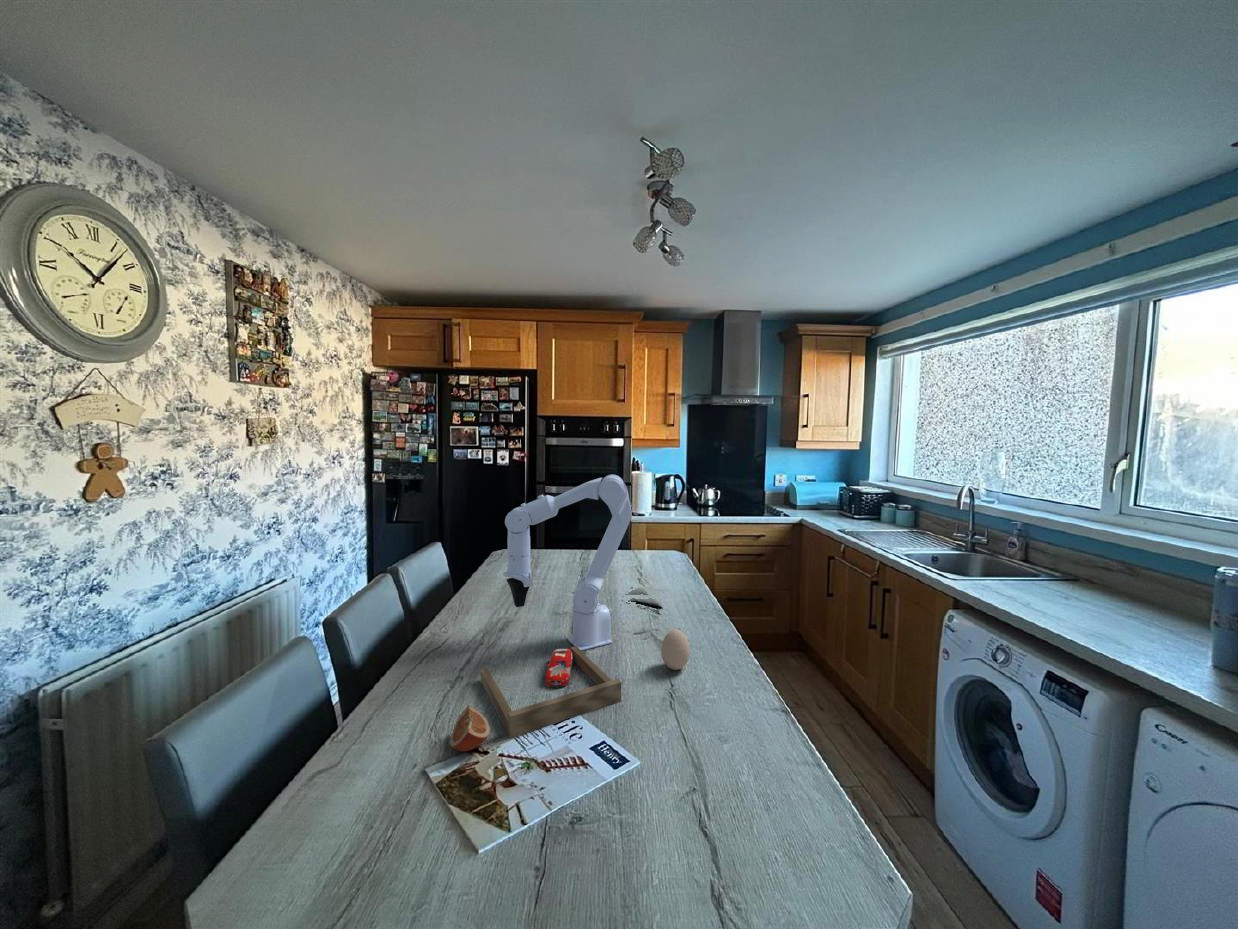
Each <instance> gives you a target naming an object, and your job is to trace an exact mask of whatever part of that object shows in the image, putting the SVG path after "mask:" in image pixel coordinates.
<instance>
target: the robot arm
mask: <svg viewBox="0 0 1238 929" xmlns="http://www.w3.org/2000/svg"><path fill="white" fill-rule="evenodd" d="M599 497H600V499H601V501H603V502H604V503H605V504H606V505H607V506H608V509H609V511H610V514H611V516H612V517H611V519H610V521H609V524H608V526H607V528H606V530H605V533H604V535H603V537H602V540H601V541H600V544H599V546H598V547H597V549H596V552H595V554H594V557H593V559H592V561H591V564H590V566H589V567H588V569H587V571H586V573H585V575H584V577H583V578H582V579H581V580H580V581H579V582H577V585H576V590H575V594H574V595H573V598H572V635H570V636H567V637H566V639H567V640H568V642H570V644H571V645H573V647H575V646H577V647H578V648H579V649H580V650H581V651H582V652H583V651H586V650H589V649H593V648H597V647H600V646H605V645H608V644H611V643H613V641H612V639H611V638H612V637H611V636H612V635H611V634H612V633H611V632H612V631H611V628H612V627H611V625H612V618H611V613H610V610H609V608H608V606H607V605H605V604H600V602H599V595H600V592H601V588H602V586H603V583H604V580H605V578H606V576H607V573H608V571H609V569H610V566H611V565H612V562H613V560H614V557H615V555H616V553H617V551H618V548H619V547H620V546H621V543H622V539H623V538H624V536H625V533H626V531H627V529H628V528H629V524H630V522H631V520H632V517H633V514H632V513H633V512H632V507H631V502H630V496H629V491H628V487H627V485H626V484H625V482H624V480H623V478H622V477H620V475H616V474H613V473H612V474H608V475H606V476H605V477H598V478H596V479H592V480H589V481H586V482H584V483H581V484H580V485H577V486H576V487H574V488H571V489H569V490H567V491H565V492H563V493H561V494H558V495H556V496H552V495H549V494H546V495H544V494H540V495H538V496H537V498H536V499H535V500H532V501H530V502H528V503H526V502H524V503H522V504H520V506H518V507H515V508H513V509H512V510H511V511H509V512H508V513H507V515H506V516H505V519H504V525H505V527H506V529H507V540H506V541H507V565H506V566H507V567H506V568H507V569H506V570H507V571H504V572H502V576H503V577H505V578H506V582H507V584H508V586H509V588H510V591H511V596H512V600H513V604H514V607H515V608H520V607H524V606H525V603H526V599H527V595H528V591H529V589H530V588H531V587H533V578H532V569H531V536H530V535H531V532H530V531H531V530H530V526H534V525H537V524H539V523H542V522H544V521H547V520H549V519H551V518H554V517H556V516H557V515H558V513H559V510H560V509H562V508H564V507H567V506H570V505H572V504H574V503H577V502H580V501H582V500H584V499H587V498H588V499H591V500H597V501H598V500H599ZM507 577H509V578H507Z"/></svg>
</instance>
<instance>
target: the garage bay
mask: <svg viewBox="0 0 1238 929" xmlns="http://www.w3.org/2000/svg"><path fill="white" fill-rule="evenodd" d="M570 650H571V652H572V656H573V662H574V663H576V664H577V665H578V666H579V668H580V669H581V670H582V671H583V672H584V673H585V674H586V675H587V676H588V677H589V678H590V679H591V680H592V681H593V682H594V683H595V684H596V685H593V686H590V687H587V688H586V687H585V688H583V689H580V690H576V691H574V692H573V691H572V692H569V693H567V694H562V695H560V696H556V697H553V698H550V699H547V700H544V701H540V702H537V703H534V704H530V705H528V706H524V707H520V708H518V709H514V710H512V708H511V706H510V705H509V703H508V702H507V700H506V698H505V696H504V694H503V692H501V689H500V688H499V685H498V684H497V682H496V681H495V679H494V677H493V675H492V674H491V672H490V670H489V668H484V669H481V670H480V683H481V684H482V686H483V688H484V690H485V692H486V694H487V696H488V698H489V700H490V701H491V703H492V707H494V709H495V711H496V714H497V715H498V717H499V719H500V721H501V723H502V725H503V726H504V727H503V728H504V729H505V731H506V733H507V735H508V736H509V738H510V739H513V738H515V737H518V736H520V735H524V734H527V733H530V732H533V731H536V730H539V729H542V728H545V727H548V726H550V724H551V725H554V724H557V723H560V722H563V721H566V720H569V719H572V718H575V717H578V716H580V715H583V714H587V713H589V712H594V711H595V710H599V709H602V708H604V707H607V706H610V705H611V706H612V705H614V704H617V703H619V702H622V681H621V680H620V679H619V678H616V679H611V677H610V676H608V675H607V674H606V673H605V671H604V670H602V669H601V668H600V667H599V666H598V665H597V663H595V662H593V661H592V659H591V658H590V657H588V656H587V655H586V654H585V652H584V651H583V650H582V651H581V650H580V649H579V648H578V647H577V646H572V647H570ZM568 718H569V719H568ZM565 719H566V720H565Z"/></svg>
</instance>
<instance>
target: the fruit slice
mask: <svg viewBox="0 0 1238 929" xmlns="http://www.w3.org/2000/svg"><path fill="white" fill-rule="evenodd" d="M490 735H491V727H490V723H489V722H488V719H487V718H486V717H485V716H484V715H483V714H482V713H481V712H480V711H478V710H477V709H476V708H474V707H473V706H471V705H470V704H468V705H467V706H466V708H464V710H462V712H461V713H460V714H459V716H458V717H457V720H456V722H455V725H454V727H453V730H452V733H451V736H450V741H449V746H450V747H451V748H452V749H454V750H456V751H459V752H469V751H471V750H473V749H475V748H477V747H480V746H481V744H483V743H484V742H485V741H486V740H487V739H488V738H489V736H490Z"/></svg>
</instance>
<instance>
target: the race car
mask: <svg viewBox="0 0 1238 929" xmlns="http://www.w3.org/2000/svg"><path fill="white" fill-rule="evenodd" d="M551 654H552V655H551V656H550V659H549V663H548V664H546V667H547V669H546V673H545V677H544V681H545V685H546V686H547V687H550V688H561V687H565V686H568V685H569V684H570V683H569V682H570V680H571V674H572V670H573V669H572V668H573V662H574V660H573V656H572V652H571V649H569V648H557V649H555V650H553V651H552V653H551Z"/></svg>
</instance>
